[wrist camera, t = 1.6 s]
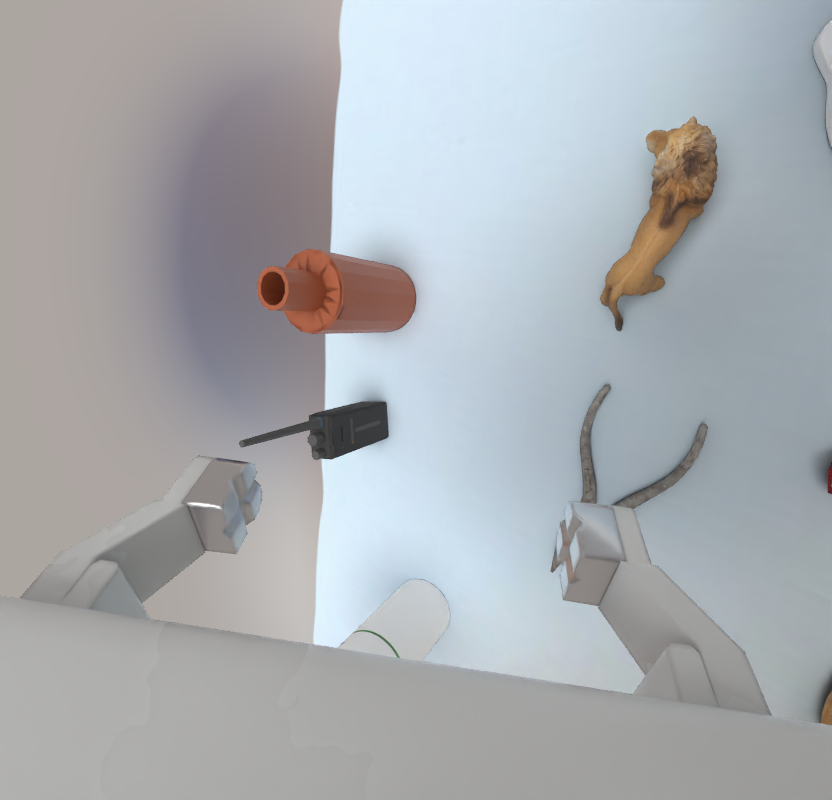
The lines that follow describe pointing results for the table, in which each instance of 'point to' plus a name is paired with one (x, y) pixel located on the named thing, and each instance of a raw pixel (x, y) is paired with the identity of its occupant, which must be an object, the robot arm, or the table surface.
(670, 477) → the pliers
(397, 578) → the table surface
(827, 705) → the stone cup
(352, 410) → the walkie-talkie
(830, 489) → the dice
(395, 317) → the bottle
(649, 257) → the lion figurine
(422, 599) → the cylindrical container
